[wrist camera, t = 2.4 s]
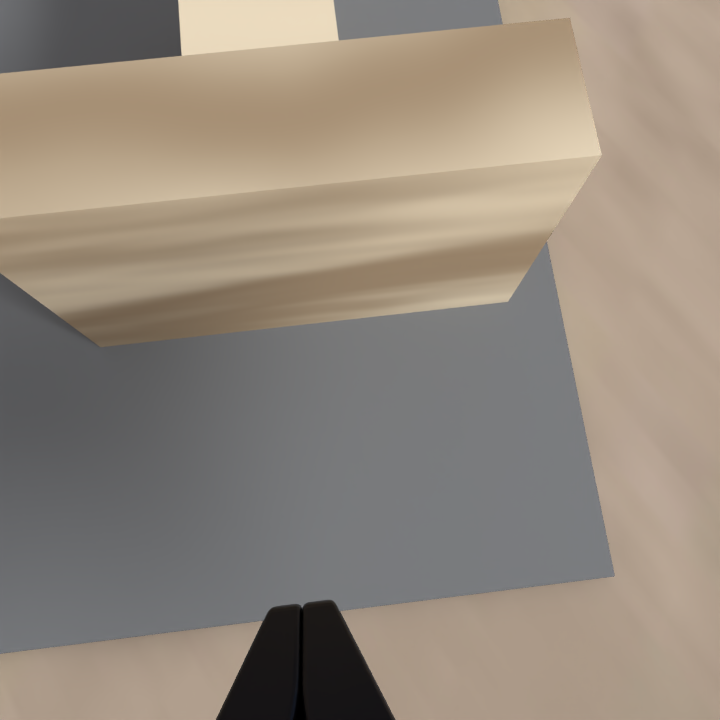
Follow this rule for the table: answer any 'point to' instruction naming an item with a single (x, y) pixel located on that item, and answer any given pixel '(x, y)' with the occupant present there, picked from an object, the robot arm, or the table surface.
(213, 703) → the table surface
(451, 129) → the t block
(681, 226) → the table surface
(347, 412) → the mat
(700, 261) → the table surface
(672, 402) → the table surface
